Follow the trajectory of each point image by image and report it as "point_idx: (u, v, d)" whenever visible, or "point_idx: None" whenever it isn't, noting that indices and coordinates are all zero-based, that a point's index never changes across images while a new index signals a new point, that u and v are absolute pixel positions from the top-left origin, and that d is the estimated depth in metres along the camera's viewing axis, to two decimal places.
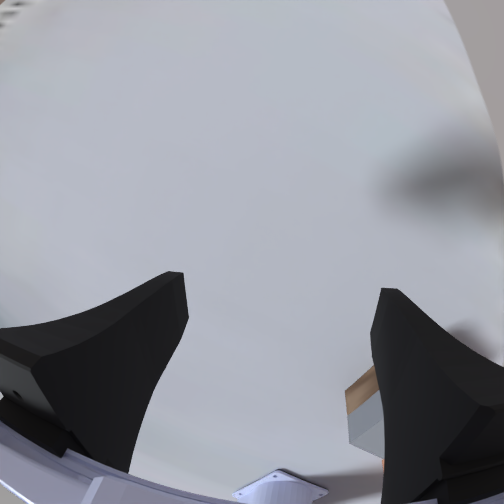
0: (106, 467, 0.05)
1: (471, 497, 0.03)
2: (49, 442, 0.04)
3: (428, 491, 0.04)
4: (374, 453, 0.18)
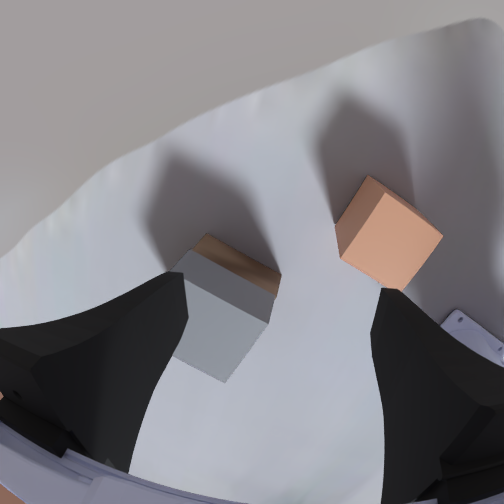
0: (106, 467, 0.05)
1: (471, 497, 0.03)
2: (49, 442, 0.04)
3: (428, 491, 0.04)
4: (239, 359, 0.18)
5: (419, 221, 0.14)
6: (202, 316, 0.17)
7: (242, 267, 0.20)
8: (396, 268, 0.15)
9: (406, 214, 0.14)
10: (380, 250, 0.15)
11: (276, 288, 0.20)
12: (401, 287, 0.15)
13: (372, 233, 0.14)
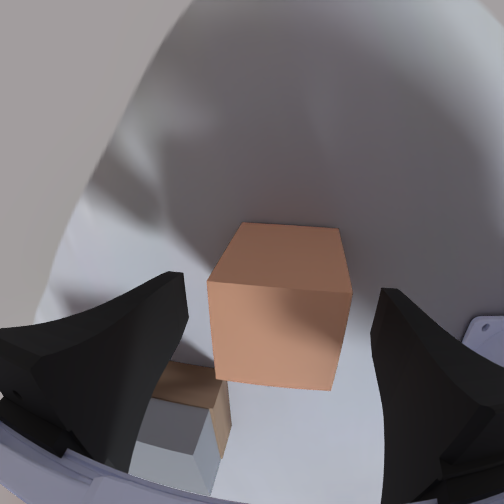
0: (106, 467, 0.05)
1: (471, 497, 0.03)
2: (49, 442, 0.04)
3: (428, 491, 0.04)
4: (201, 480, 0.13)
5: (291, 294, 0.08)
6: (140, 454, 0.13)
7: (172, 383, 0.16)
8: (302, 366, 0.09)
9: (262, 295, 0.09)
10: (259, 355, 0.09)
11: (215, 395, 0.15)
12: (328, 382, 0.10)
13: (231, 339, 0.09)
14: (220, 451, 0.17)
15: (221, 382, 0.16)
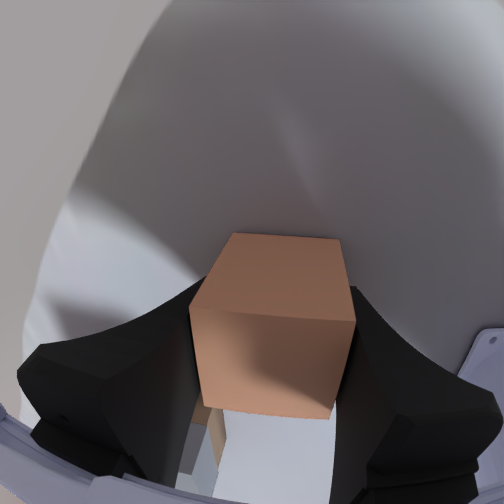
0: None
1: None
2: (106, 469, 0.04)
3: (360, 499, 0.04)
4: None
5: (285, 323, 0.07)
6: None
7: None
8: (298, 395, 0.08)
9: (252, 323, 0.07)
10: (249, 384, 0.08)
11: (208, 410, 0.14)
12: (326, 411, 0.08)
13: (218, 368, 0.08)
14: None
15: None
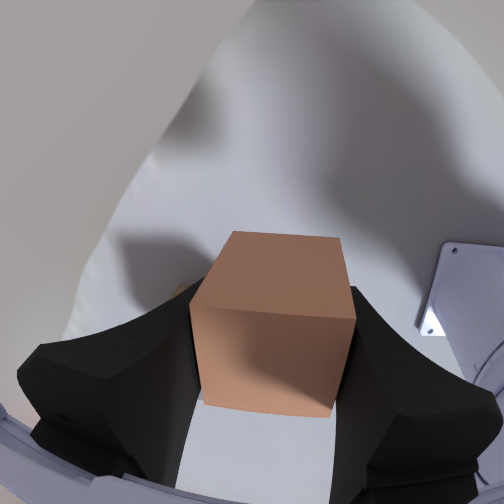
0: None
1: None
2: (106, 469, 0.04)
3: (360, 499, 0.04)
4: None
5: (285, 320, 0.07)
6: None
7: None
8: (298, 394, 0.08)
9: (252, 320, 0.07)
10: (250, 382, 0.08)
11: None
12: (326, 409, 0.08)
13: (219, 366, 0.08)
14: None
15: None
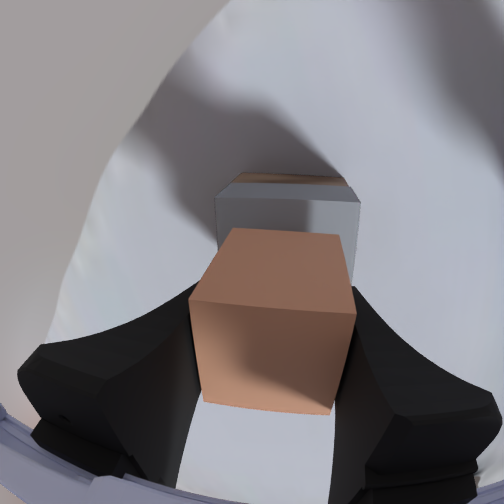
0: None
1: None
2: (107, 470, 0.04)
3: (358, 499, 0.04)
4: (349, 276, 0.13)
5: (284, 315, 0.07)
6: None
7: (296, 180, 0.16)
8: (298, 391, 0.08)
9: (252, 315, 0.07)
10: (249, 379, 0.08)
11: (345, 184, 0.16)
12: (327, 406, 0.08)
13: (218, 362, 0.08)
14: None
15: (344, 181, 0.16)
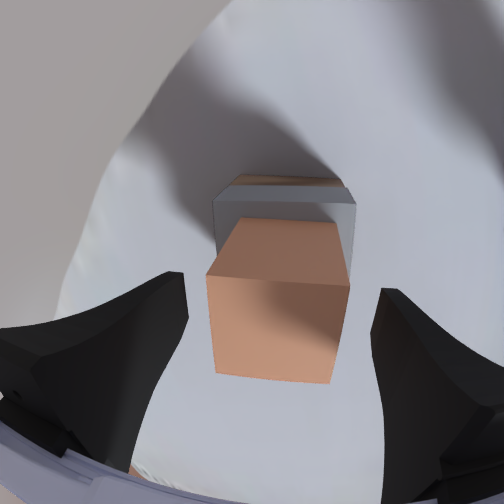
0: (106, 467, 0.05)
1: (471, 497, 0.03)
2: (49, 442, 0.04)
3: (428, 491, 0.04)
4: None
5: (289, 287, 0.08)
6: None
7: (294, 182, 0.16)
8: (301, 359, 0.10)
9: (261, 289, 0.09)
10: (258, 348, 0.10)
11: (342, 186, 0.16)
12: (327, 375, 0.10)
13: (230, 333, 0.10)
14: None
15: (341, 183, 0.17)
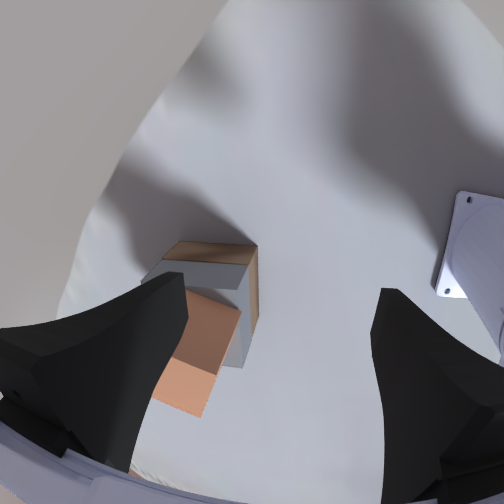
0: (106, 467, 0.05)
1: (471, 497, 0.03)
2: (49, 442, 0.04)
3: (428, 491, 0.04)
4: (237, 337, 0.18)
5: (180, 363, 0.13)
6: None
7: (213, 253, 0.21)
8: (183, 399, 0.14)
9: None
10: (159, 385, 0.14)
11: (250, 257, 0.20)
12: (199, 412, 0.14)
13: None
14: None
15: (254, 251, 0.21)
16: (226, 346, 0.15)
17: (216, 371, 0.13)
